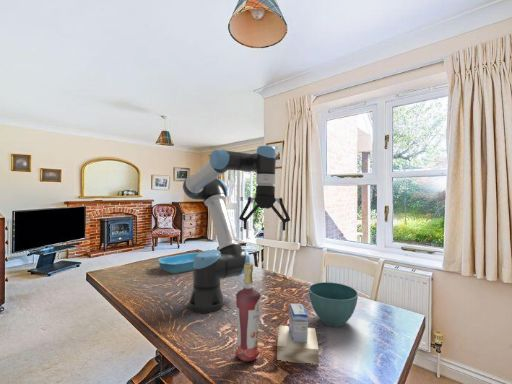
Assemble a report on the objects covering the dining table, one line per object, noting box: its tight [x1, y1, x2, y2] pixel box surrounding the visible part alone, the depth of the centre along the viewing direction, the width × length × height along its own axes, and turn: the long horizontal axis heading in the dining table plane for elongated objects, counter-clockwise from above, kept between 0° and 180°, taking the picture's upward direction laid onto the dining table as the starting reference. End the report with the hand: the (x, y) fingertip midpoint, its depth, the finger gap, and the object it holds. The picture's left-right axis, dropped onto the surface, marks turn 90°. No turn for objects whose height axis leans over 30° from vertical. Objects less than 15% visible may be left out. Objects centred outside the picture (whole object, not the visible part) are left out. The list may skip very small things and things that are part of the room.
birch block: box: [276, 324, 320, 365], centre depth 81 cm, size 12×12×5 cm
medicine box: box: [288, 303, 309, 343], centre depth 81 cm, size 8×4×9 cm, turn 3°
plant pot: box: [308, 281, 359, 328], centre depth 100 cm, size 18×18×12 cm
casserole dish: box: [157, 252, 199, 274], centre depth 171 cm, size 37×22×7 cm, turn 137°
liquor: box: [235, 262, 261, 363], centre depth 77 cm, size 7×7×28 cm
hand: (264, 238), depth 102 cm, fingers open, 13 cm apart
